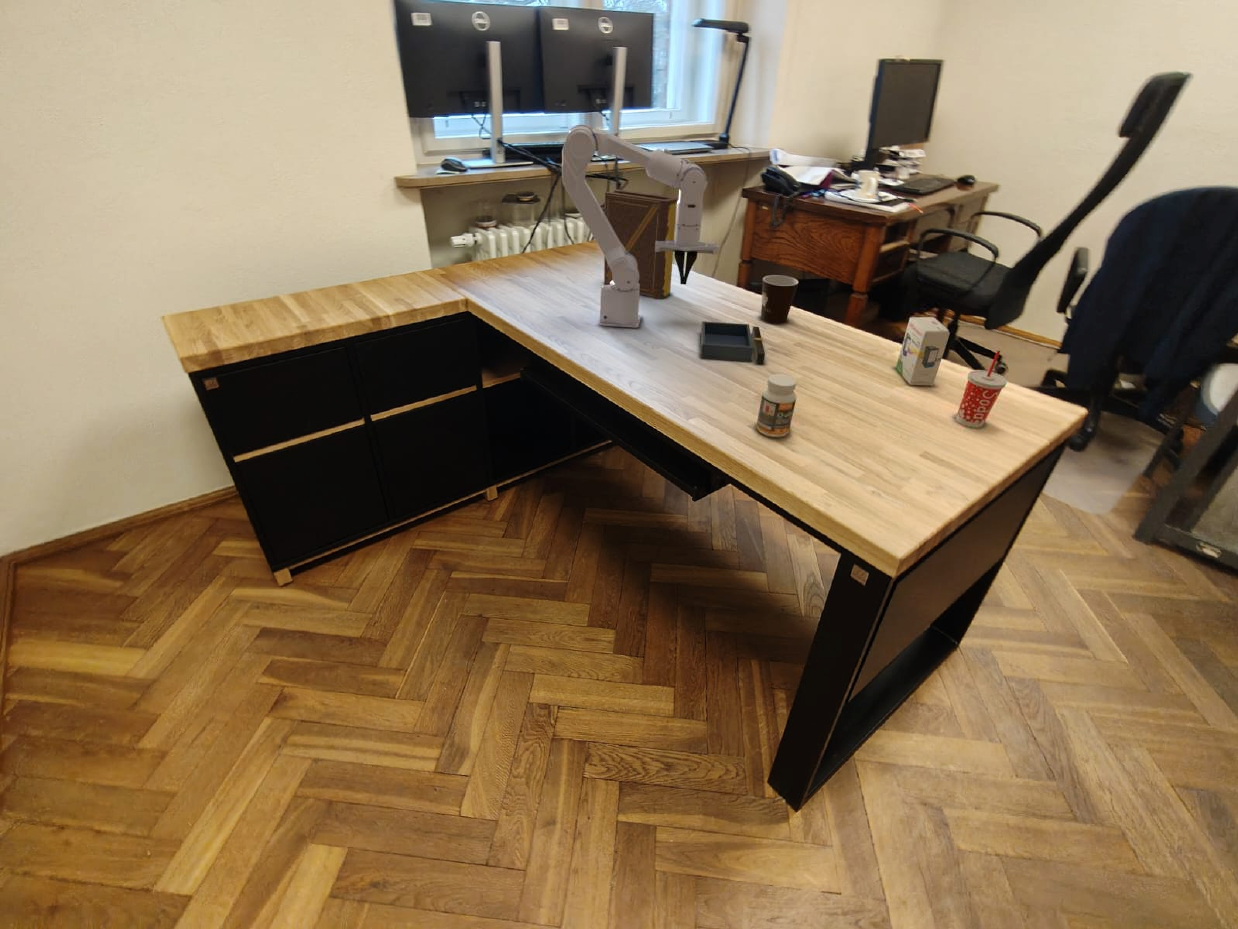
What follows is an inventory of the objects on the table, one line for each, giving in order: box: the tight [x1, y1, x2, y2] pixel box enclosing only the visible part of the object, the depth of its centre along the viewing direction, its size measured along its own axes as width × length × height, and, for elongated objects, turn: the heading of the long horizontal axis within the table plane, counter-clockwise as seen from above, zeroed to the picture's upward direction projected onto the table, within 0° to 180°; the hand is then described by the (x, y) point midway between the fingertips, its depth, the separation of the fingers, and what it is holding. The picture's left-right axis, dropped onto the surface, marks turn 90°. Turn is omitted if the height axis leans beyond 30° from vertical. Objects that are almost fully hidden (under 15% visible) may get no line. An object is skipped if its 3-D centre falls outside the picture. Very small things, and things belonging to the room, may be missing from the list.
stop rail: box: [751, 326, 766, 365], centre depth 133 cm, size 2×16×3 cm, turn 173°
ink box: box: [895, 316, 951, 386], centre depth 120 cm, size 9×5×12 cm, turn 178°
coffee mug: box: [760, 274, 799, 325], centre depth 148 cm, size 12×9×10 cm
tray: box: [700, 321, 754, 363], centre depth 133 cm, size 11×14×3 cm
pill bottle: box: [756, 373, 797, 438], centre depth 101 cm, size 6×6×10 cm
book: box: [603, 189, 678, 300], centre depth 160 cm, size 22×8×25 cm, turn 58°
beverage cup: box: [955, 349, 1008, 429], centre depth 104 cm, size 6×6×14 cm
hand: (683, 283), depth 141 cm, fingers closed
